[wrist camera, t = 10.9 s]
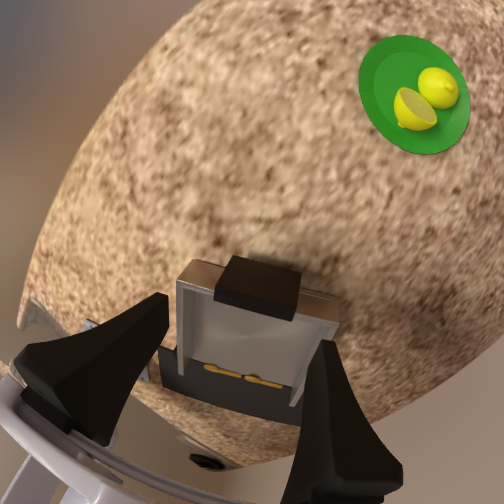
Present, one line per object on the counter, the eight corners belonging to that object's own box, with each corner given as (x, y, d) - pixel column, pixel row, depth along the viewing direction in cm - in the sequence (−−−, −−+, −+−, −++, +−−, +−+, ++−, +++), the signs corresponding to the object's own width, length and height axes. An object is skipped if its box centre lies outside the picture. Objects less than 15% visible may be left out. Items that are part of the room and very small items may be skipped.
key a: (204, 366, 29) (204, 369, 28) (204, 362, 27) (203, 365, 27) (241, 376, 28) (240, 379, 28) (242, 373, 27) (241, 375, 27)
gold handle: (309, 387, 27) (308, 395, 26) (177, 350, 29) (173, 357, 28) (313, 381, 27) (312, 390, 26) (177, 343, 28) (173, 350, 27)
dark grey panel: (163, 385, 34) (162, 386, 34) (158, 344, 29) (156, 346, 29) (305, 425, 32) (305, 427, 31) (329, 393, 27) (329, 395, 27)
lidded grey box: (297, 383, 27) (291, 424, 22) (189, 353, 28) (169, 389, 24) (347, 275, 20) (353, 321, 15) (194, 235, 21) (161, 270, 17)
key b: (243, 376, 28) (243, 379, 28) (246, 374, 26) (245, 377, 26) (279, 386, 28) (278, 389, 28) (284, 385, 27) (283, 387, 26)
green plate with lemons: (435, 175, 15) (452, 186, 13) (335, 108, 15) (339, 107, 13) (480, 87, 11) (501, 86, 9) (385, 16, 11) (395, 2, 9)
